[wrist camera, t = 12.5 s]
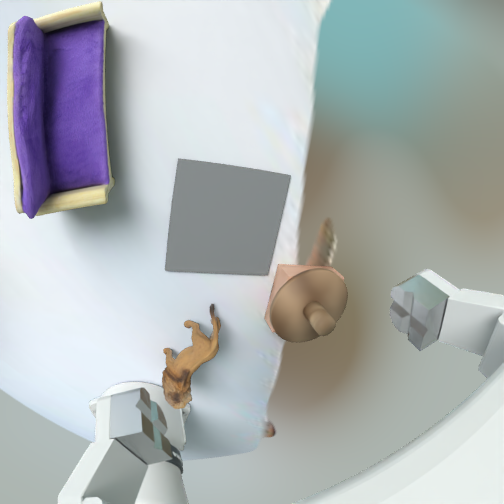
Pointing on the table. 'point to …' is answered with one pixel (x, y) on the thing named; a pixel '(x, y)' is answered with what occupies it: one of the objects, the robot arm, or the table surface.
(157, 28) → the table surface
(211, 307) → the lion figurine
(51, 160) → the toy sofa
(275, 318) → the lid
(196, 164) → the mat
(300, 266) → the open box
